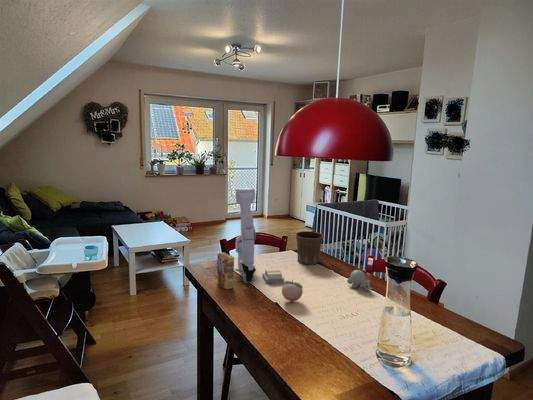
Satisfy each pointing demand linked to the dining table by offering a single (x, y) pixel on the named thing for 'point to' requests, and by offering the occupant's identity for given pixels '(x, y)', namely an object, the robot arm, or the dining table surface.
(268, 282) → the base slab
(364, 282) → the chubby cartoon animal
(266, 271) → the top slab
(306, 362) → the dining table surface
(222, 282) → the candy box
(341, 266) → the dining table surface
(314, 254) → the plant pot
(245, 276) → the teal cube
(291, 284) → the decorative fruit
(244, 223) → the robot arm
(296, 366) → the dining table surface
